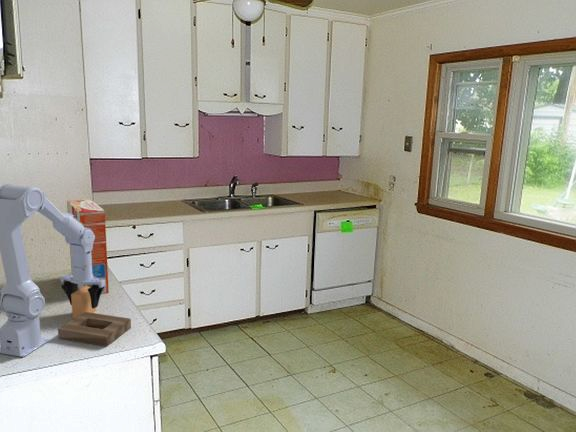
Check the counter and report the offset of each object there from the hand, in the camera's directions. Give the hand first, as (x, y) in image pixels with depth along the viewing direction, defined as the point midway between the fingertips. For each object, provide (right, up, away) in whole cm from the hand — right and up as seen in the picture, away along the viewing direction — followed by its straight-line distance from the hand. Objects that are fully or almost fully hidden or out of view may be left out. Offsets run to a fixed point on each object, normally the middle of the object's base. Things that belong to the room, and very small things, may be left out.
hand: (84, 305), depth 146 cm
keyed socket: (+8, -6, -11) cm, 15 cm away
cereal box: (-9, +3, +25) cm, 27 cm away
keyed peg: (0, -3, +1) cm, 3 cm away
